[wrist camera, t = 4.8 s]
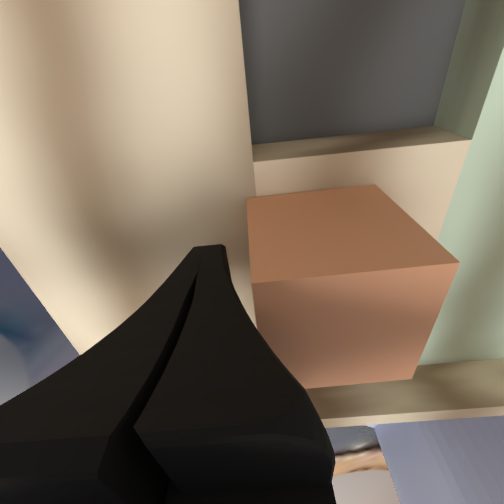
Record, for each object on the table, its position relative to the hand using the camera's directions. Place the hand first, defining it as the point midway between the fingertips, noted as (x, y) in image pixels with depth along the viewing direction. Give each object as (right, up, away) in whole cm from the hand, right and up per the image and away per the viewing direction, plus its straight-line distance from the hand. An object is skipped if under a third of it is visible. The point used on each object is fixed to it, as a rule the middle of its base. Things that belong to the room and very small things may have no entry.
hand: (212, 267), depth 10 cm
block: (+4, +1, +1) cm, 4 cm away
